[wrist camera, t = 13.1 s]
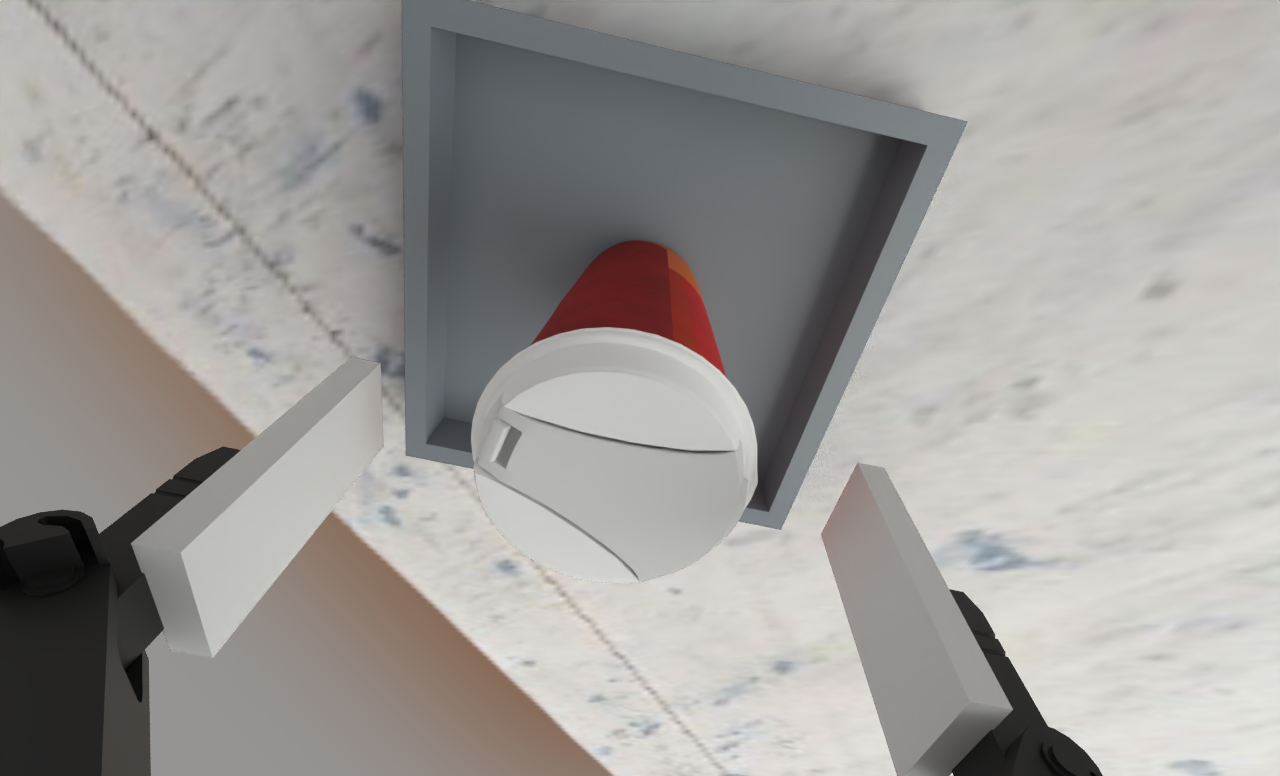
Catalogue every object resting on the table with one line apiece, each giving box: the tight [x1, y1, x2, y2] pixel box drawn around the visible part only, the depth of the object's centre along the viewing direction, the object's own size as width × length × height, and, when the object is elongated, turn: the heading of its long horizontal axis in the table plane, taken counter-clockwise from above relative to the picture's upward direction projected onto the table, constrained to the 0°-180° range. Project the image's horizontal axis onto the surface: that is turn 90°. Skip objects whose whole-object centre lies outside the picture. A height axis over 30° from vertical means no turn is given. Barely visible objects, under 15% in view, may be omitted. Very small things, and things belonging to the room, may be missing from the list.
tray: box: [402, 0, 967, 530], centre depth 25 cm, size 20×20×4 cm
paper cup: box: [471, 240, 758, 584], centre depth 20 cm, size 8×8×14 cm
